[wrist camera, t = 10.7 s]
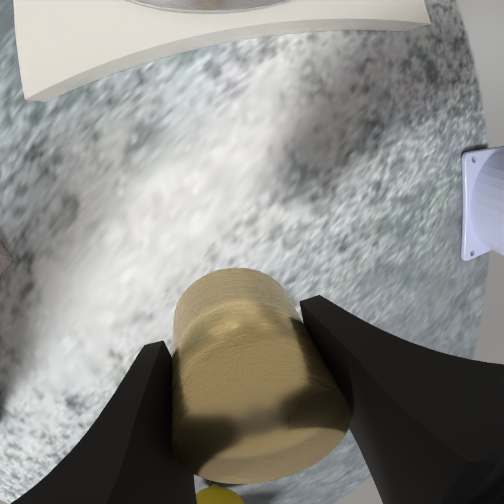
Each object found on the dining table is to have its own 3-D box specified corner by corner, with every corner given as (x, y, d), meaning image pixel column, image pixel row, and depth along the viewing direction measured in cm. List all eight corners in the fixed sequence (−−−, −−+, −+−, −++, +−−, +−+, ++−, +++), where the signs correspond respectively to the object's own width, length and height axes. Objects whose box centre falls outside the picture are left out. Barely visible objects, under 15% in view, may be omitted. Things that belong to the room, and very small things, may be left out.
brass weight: (280, 252, 10) (349, 355, 6) (299, 348, 12) (350, 454, 7) (156, 287, 10) (139, 412, 5) (195, 377, 11) (207, 494, 7)
